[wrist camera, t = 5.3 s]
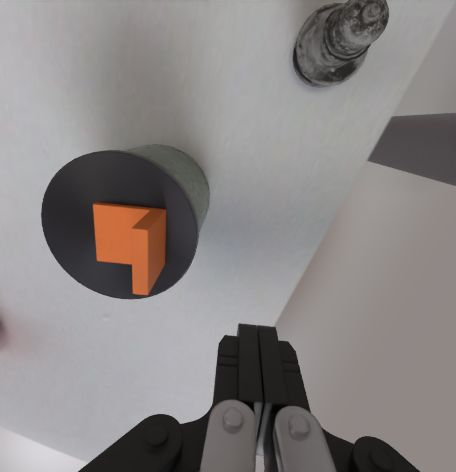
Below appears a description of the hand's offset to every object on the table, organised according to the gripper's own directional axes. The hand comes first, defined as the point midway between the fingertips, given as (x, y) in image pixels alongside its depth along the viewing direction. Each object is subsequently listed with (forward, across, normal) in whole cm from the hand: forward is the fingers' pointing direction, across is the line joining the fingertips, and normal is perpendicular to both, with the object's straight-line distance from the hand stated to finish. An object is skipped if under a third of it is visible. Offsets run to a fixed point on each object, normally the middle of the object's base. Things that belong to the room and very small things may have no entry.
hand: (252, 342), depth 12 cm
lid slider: (+10, +8, 0) cm, 13 cm away
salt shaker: (+22, -6, -15) cm, 28 cm away
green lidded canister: (+22, +9, 0) cm, 24 cm away
